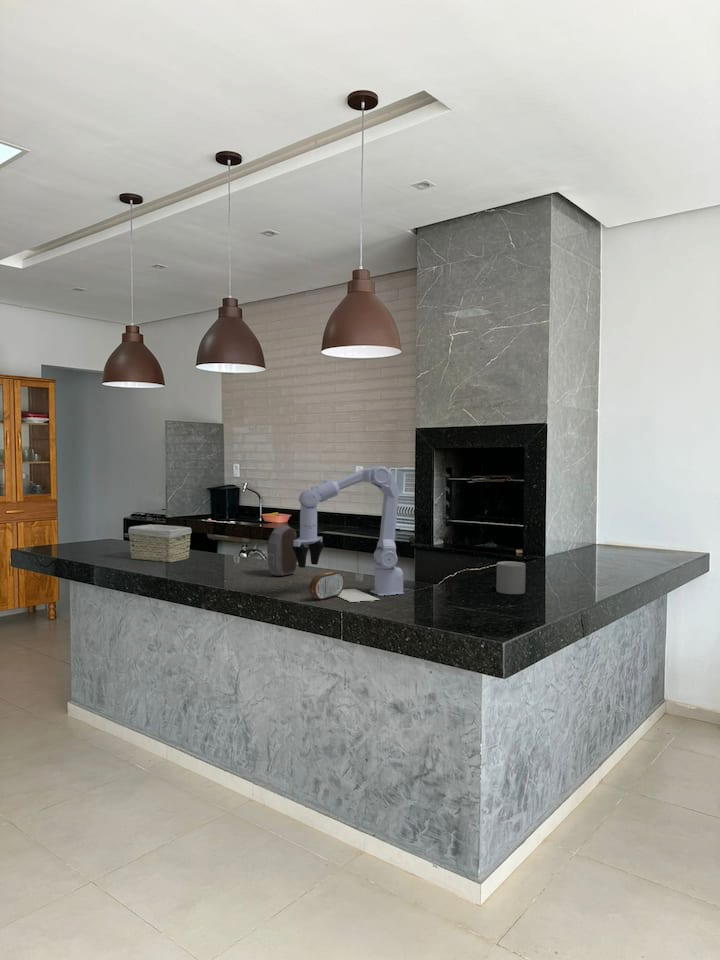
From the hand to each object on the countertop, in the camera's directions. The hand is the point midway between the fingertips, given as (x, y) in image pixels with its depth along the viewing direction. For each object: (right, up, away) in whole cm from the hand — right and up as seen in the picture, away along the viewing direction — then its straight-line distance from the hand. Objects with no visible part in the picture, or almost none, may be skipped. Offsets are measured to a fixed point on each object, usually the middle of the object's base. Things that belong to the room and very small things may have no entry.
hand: (308, 565), depth 237 cm
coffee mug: (+72, -11, +15) cm, 74 cm away
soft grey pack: (-14, -9, +42) cm, 45 cm away
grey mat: (+15, -10, +1) cm, 18 cm away
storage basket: (-72, -7, +80) cm, 108 cm away
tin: (+7, -10, -3) cm, 13 cm away
